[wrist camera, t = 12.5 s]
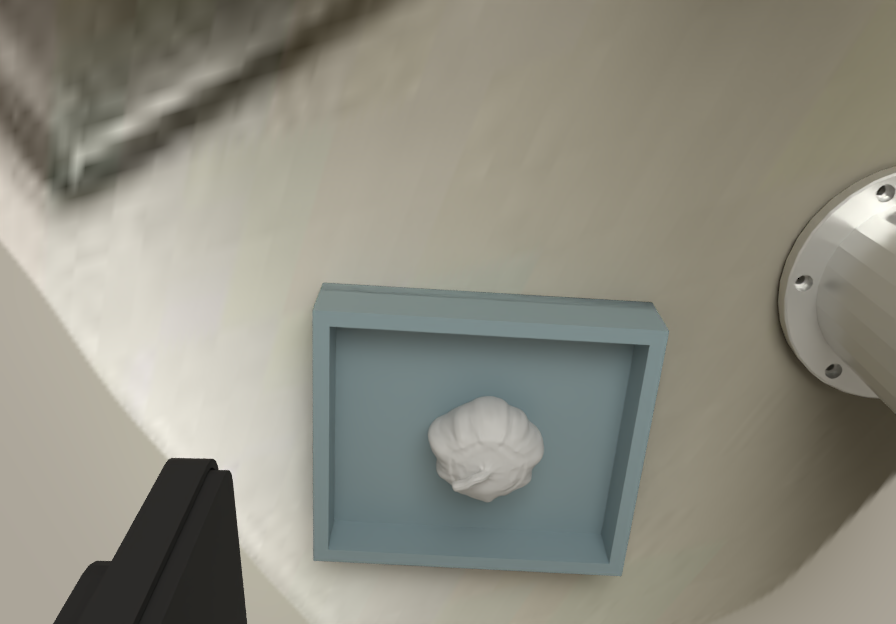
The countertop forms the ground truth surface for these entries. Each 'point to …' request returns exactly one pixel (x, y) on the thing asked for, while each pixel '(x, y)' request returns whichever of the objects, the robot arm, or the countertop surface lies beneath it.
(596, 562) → the tray
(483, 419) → the garlic
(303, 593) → the countertop surface
